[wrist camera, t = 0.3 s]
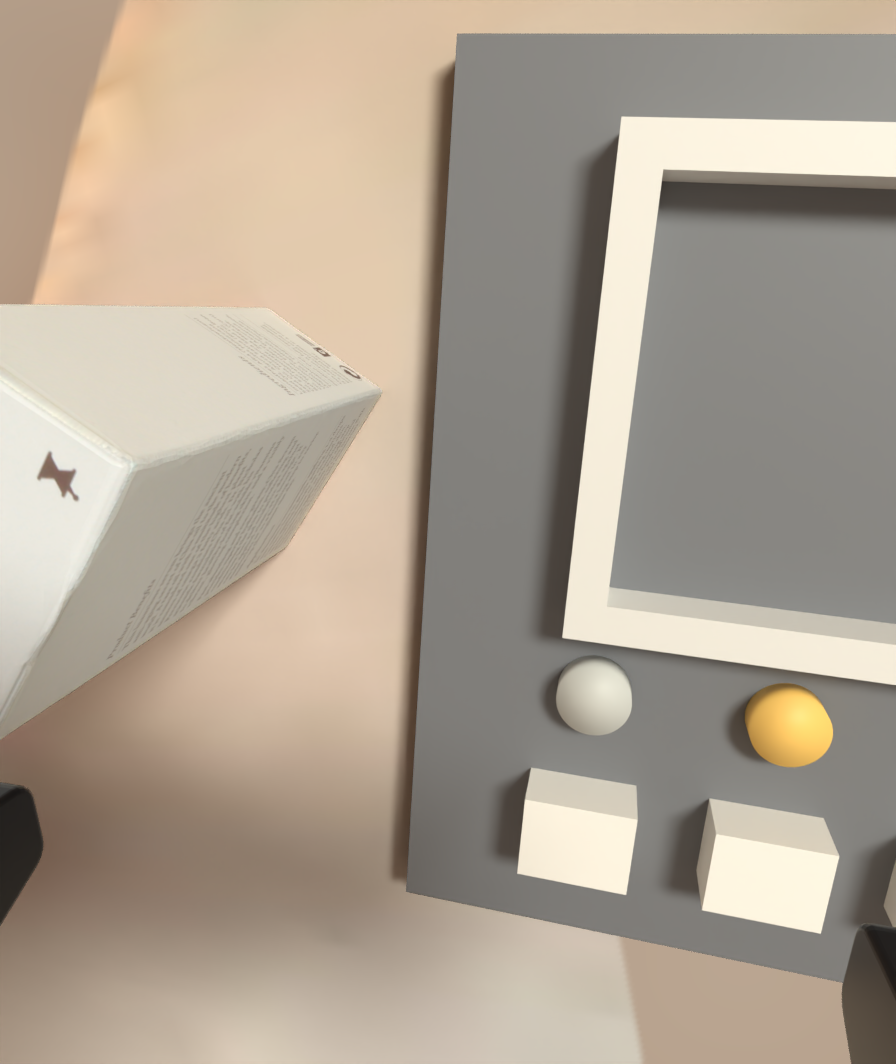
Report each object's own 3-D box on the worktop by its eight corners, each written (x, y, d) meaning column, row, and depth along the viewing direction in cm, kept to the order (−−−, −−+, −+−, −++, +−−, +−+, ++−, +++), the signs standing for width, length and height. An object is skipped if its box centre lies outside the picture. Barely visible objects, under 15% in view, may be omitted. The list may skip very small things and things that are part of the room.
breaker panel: (1015, 987, 23) (1068, 1076, 20) (415, 866, 26) (392, 928, 23) (1327, 55, 16) (1467, 3, 13) (466, 50, 19) (442, 7, 17)
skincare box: (265, 301, 22) (-109, 283, 11) (388, 389, 22) (143, 464, 11) (173, 473, 24) (-224, 611, 13) (285, 554, 24) (-13, 765, 13)
